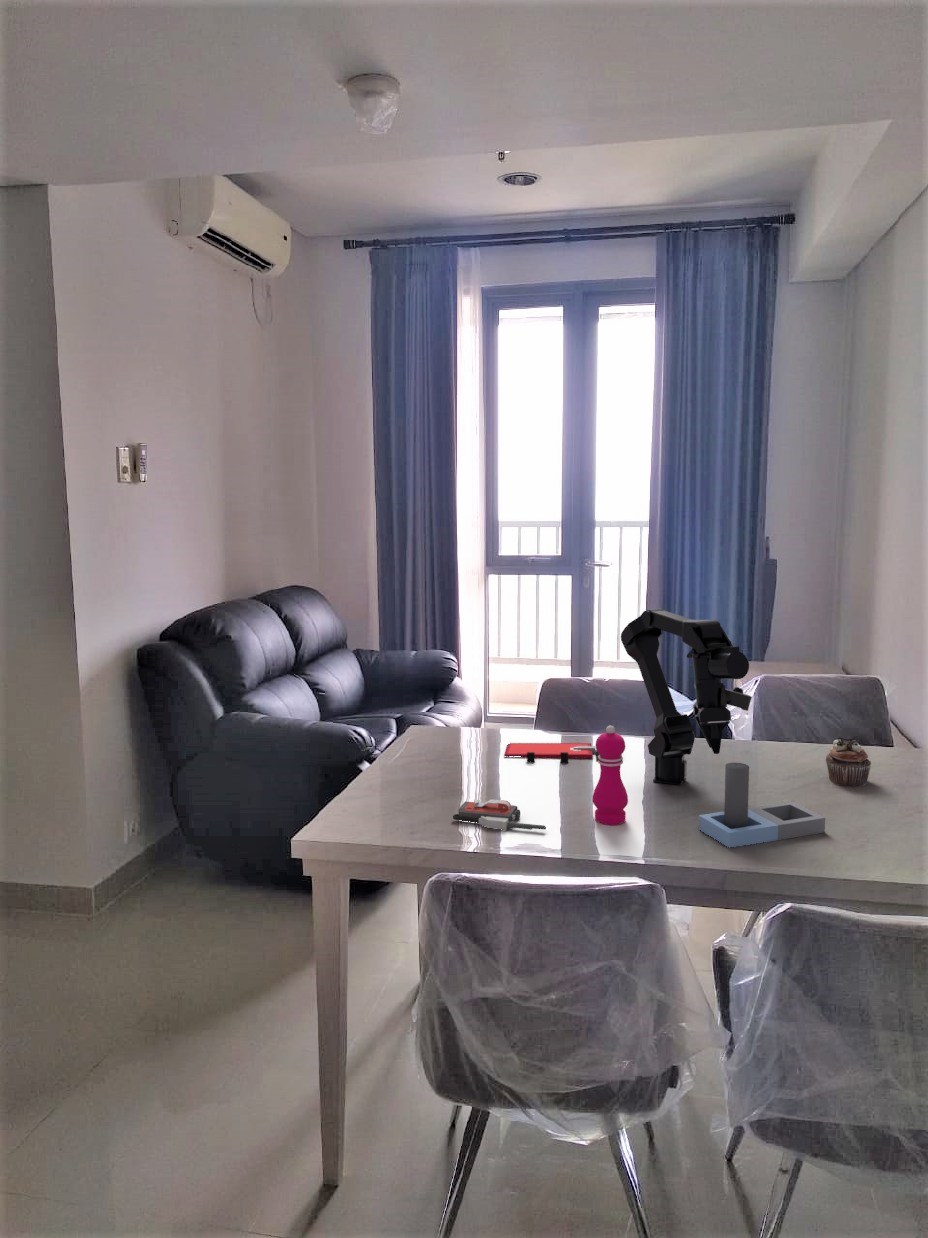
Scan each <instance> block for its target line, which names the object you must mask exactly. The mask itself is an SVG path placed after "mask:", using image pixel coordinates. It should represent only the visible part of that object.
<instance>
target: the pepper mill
mask: <svg viewBox="0 0 928 1238" xmlns="http://www.w3.org/2000/svg"><path fill="white" fill-rule="evenodd" d="M615 731H616V729H615V727H614V726H613V725H608V726H607V727H606V728H605V732H603V733H602V734H600V735H598V736H597V739H596V740H595V750H597V752H598V753H599V754H600V755H599V756H598V760H597V763H598V764H599V765H600V773H599V778H598V779H599V780H598V781H597V784H596V786H595V788H594V790H593V793H592V803H593V805H594V807H595V808H596V809H595V810H594V820H595V821H596V823H599V824H601V825H606V826H616V825H617V826H618V825H621V824H624V823H625V822H626V811H625V810H624V809H625V808H626V807H627V806H628V804H629V798H628V797H629V796H628V792H627V790H626V786H625V785H624V782H623V780H622V777H621V766H622V764H623V763H624V762H623V758H624V756H623V753H624V752H625V750H626V742H625V740H624V738H623V736H622V735H620V734H619V733H617V732H615ZM621 754H622V756H621Z"/></svg>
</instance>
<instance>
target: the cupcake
mask: <svg viewBox="0 0 928 1238" xmlns="http://www.w3.org/2000/svg"><path fill="white" fill-rule="evenodd" d="M832 745H833V746H832V747H831V748H830V749H829V752H828V753H827V754H826V756H825V763H826V767H827V772H828V779H829V781H830V782H831V783H833V784H835V785H839V786H841V787H842V786H843V787H851V788H852V787H853V788H855V787H857V788H858V787H862V786H865V785H867V783H868V778H869V775H870V771H871V766H872V761H870V760H869V759H868V758H869V756H868V753H867V752H866V751H865V750H864V748H862V746H861V745H860V744H859V743H858V742H857V739H856V738H848V739H846V738H843V737H837V738H836V739H835V740H833V744H832Z"/></svg>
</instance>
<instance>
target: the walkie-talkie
mask: <svg viewBox="0 0 928 1238" xmlns="http://www.w3.org/2000/svg"><path fill="white" fill-rule="evenodd" d="M457 811H458V812H457V813H454V814H453V815H452V819H453V820H455V821H459V820H462V821H468V822H469V821H470V822H475V823H476V822H477V823H479V824H478V825H480V826H481V825H483V826H486V827H490V828H497V829H502V830H501V831H503V830H505V832H506V831H507V830H508V829H521V830H533V829H534V830H545V831H546V829H547V826H546V825H544V824H543V825H541V824H532V823H519V822H515V821H516V820H520V819H521V810H520V809H519V807H518V806H517V805H514V804H513V805H512V803H510V802H509V801H508V800H500V799H493V798H492V799H491V798H490V799H488V800H487V801H485V802H480V799H476V801H467V800H466V801H464V802H463V803H462V804H461V805H460V807H459V808H458V810H457ZM483 826H482V827H483ZM507 828H508V829H507Z"/></svg>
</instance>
